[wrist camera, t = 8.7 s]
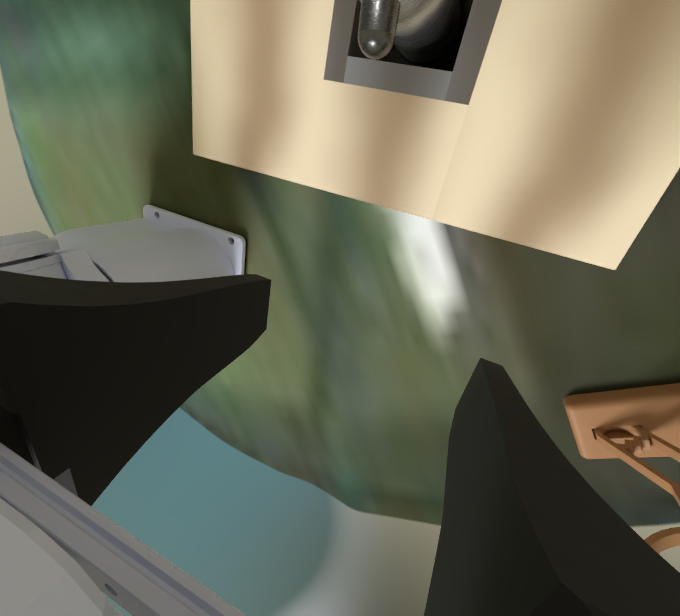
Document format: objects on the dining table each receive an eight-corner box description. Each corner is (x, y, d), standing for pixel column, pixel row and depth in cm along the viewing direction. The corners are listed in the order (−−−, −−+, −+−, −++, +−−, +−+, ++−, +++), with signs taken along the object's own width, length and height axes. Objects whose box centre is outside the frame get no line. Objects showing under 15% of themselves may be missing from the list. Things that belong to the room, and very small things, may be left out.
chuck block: (227, 155, 22) (193, 154, 19) (238, -242, 14) (184, -329, 12) (595, 253, 16) (614, 270, 14) (932, -325, 9) (1118, -530, 6)
